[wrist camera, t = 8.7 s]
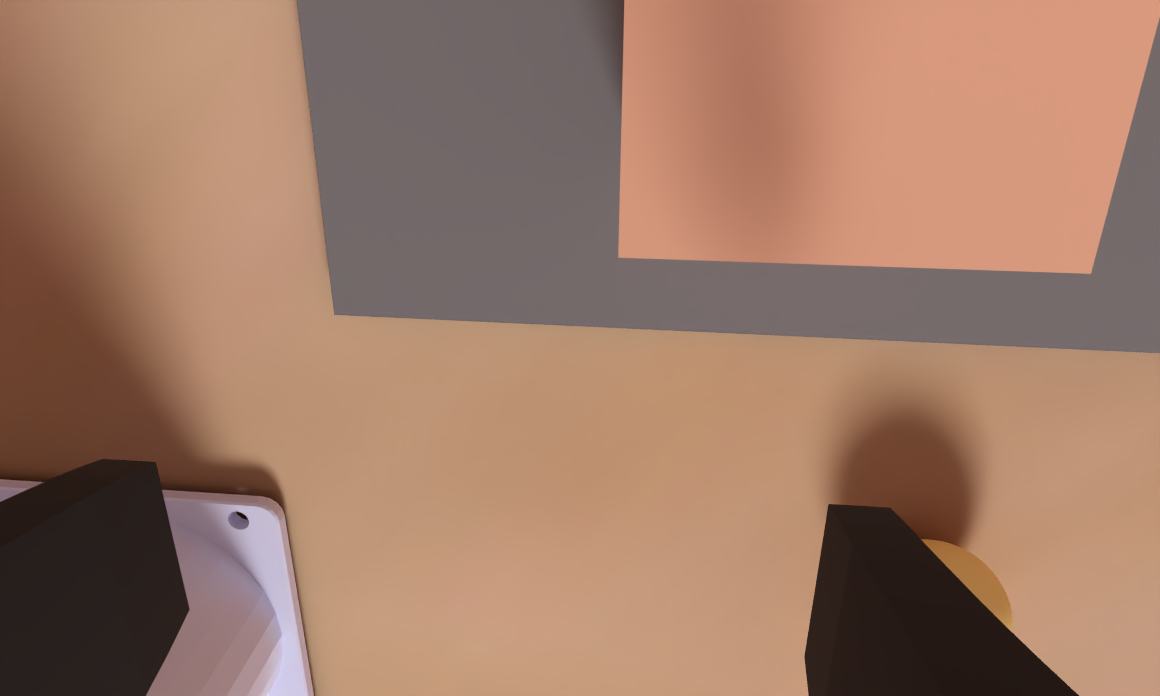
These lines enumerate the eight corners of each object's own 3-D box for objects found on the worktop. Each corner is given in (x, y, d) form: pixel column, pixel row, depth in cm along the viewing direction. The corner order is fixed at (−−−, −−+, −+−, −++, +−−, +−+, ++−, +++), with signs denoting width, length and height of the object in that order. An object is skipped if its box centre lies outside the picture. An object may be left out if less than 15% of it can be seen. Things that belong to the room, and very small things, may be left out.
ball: (832, 615, 21) (859, 721, 18) (851, 505, 19) (883, 601, 17) (968, 624, 21) (1017, 734, 18) (996, 514, 19) (1055, 614, 16)
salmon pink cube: (635, 155, 16) (618, 257, 11) (646, -196, 14) (631, -295, 8) (943, 163, 16) (1091, 273, 10) (1009, -199, 13) (1246, -307, 8)
